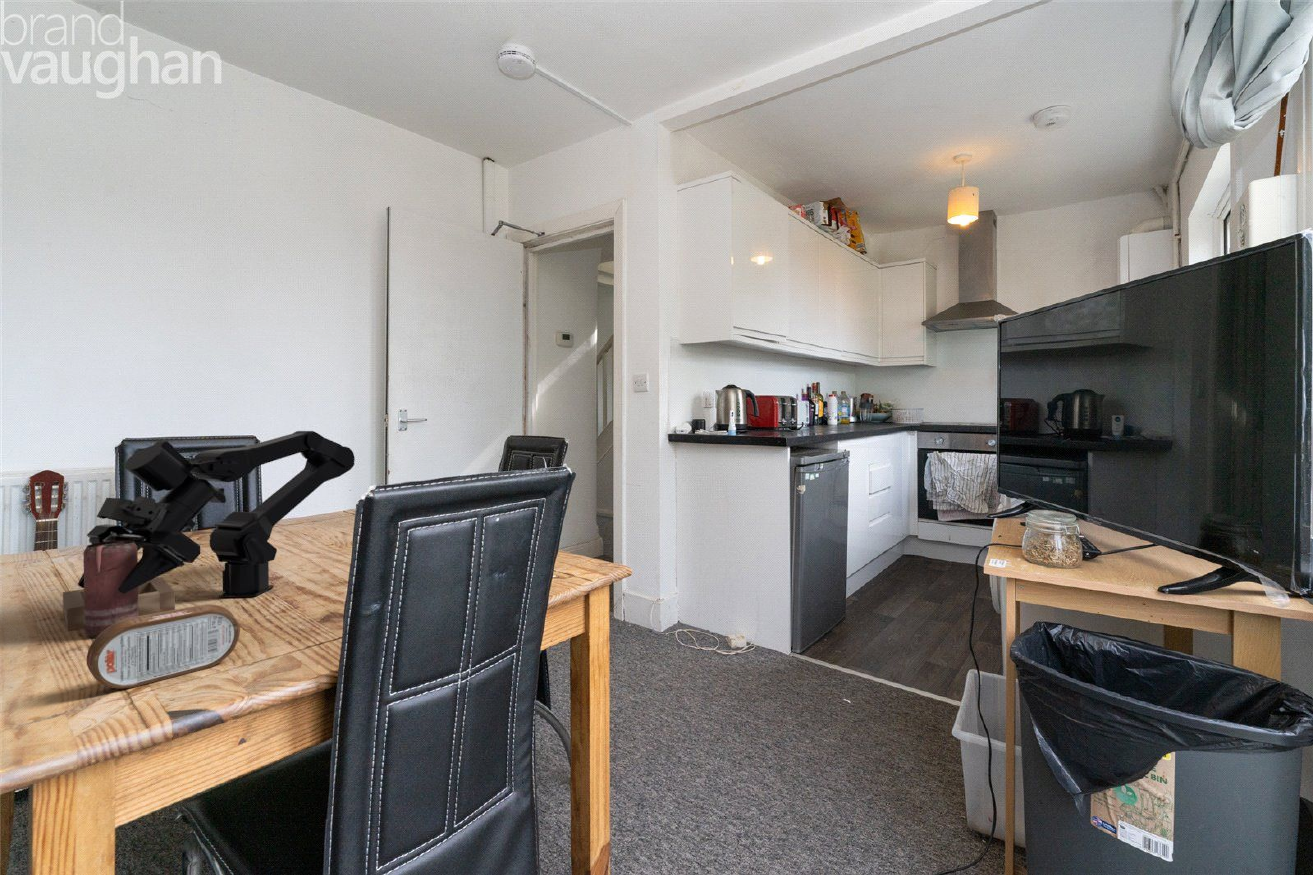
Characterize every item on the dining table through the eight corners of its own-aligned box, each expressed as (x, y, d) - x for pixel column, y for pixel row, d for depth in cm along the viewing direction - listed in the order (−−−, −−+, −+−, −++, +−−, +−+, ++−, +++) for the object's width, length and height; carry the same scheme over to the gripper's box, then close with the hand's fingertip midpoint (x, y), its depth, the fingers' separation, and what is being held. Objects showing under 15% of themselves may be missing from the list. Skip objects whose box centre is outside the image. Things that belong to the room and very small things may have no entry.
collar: (162, 595, 107) (162, 577, 107) (174, 610, 99) (174, 591, 99) (63, 612, 98) (62, 592, 98) (67, 630, 89) (67, 608, 89)
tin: (236, 655, 80) (235, 596, 80) (242, 661, 78) (242, 601, 78) (86, 693, 69) (85, 625, 69) (89, 701, 67) (88, 631, 67)
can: (76, 642, 85) (74, 549, 84) (94, 628, 90) (93, 541, 90) (129, 635, 87) (128, 545, 87) (144, 622, 93) (142, 537, 93)
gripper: (101, 476, 95) (11, 556, 84) (179, 480, 89) (93, 566, 79) (155, 516, 102) (78, 593, 92) (230, 521, 97) (158, 605, 87)
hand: (100, 589), depth 87 cm, fingers open, 9 cm apart
